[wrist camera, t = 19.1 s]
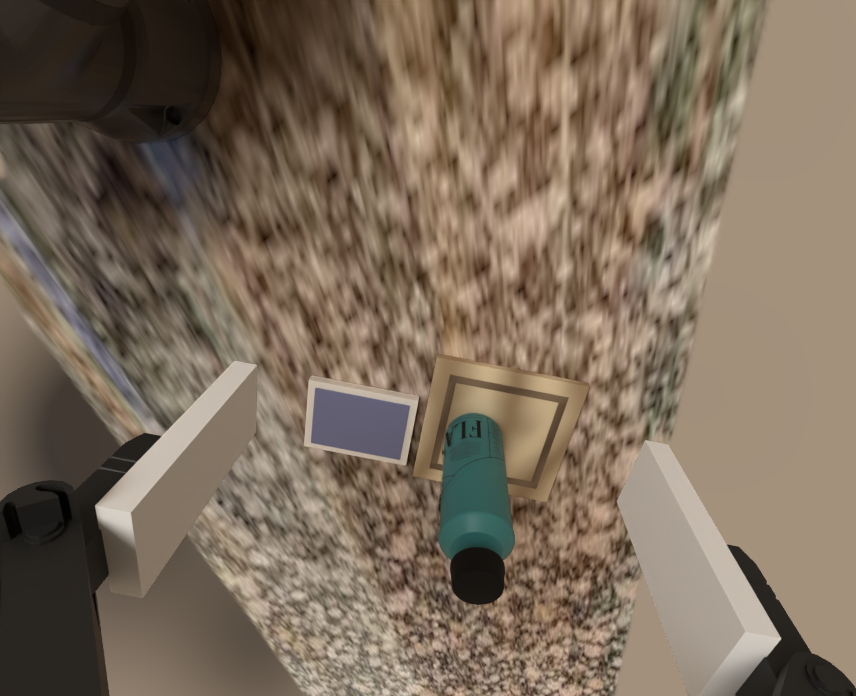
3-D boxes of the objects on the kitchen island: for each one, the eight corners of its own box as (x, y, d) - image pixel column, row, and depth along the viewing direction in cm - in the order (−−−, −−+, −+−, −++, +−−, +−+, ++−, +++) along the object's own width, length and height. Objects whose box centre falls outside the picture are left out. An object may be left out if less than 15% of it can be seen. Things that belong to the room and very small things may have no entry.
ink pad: (306, 440, 57) (303, 447, 56) (311, 375, 53) (308, 380, 52) (406, 460, 57) (405, 466, 56) (419, 396, 53) (418, 402, 52)
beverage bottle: (485, 393, 51) (496, 545, 33) (513, 439, 54) (538, 604, 36) (432, 418, 53) (415, 574, 35) (462, 461, 55) (460, 628, 37)
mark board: (413, 471, 58) (412, 476, 57) (437, 353, 51) (436, 357, 50) (545, 497, 58) (546, 502, 57) (588, 382, 51) (590, 387, 50)
